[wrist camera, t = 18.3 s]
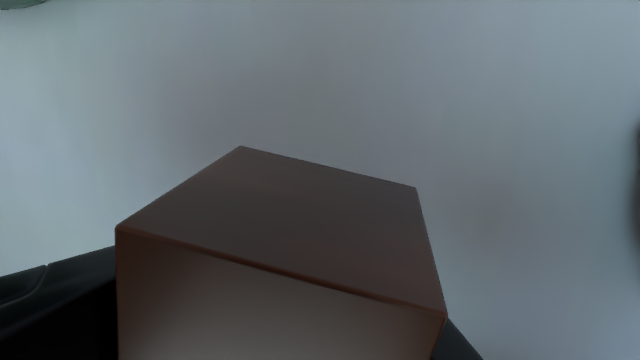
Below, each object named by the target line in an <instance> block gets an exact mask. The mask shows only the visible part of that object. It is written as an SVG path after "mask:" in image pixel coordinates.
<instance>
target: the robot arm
mask: <svg viewBox="0 0 640 360" xmlns="http://www.w3.org/2000/svg"><path fill="white" fill-rule="evenodd" d="M0 360H118V349H117V308H116V267H115V245H114V246H111V247H107V248H103V249H100V250H96V251H93V252H89V253H85V254H82V255H78V256H75V257H71V258H67V259H64V260H60V261H57V262H53V263H50V264H48V265H47V266H46V265H42V266H38V267H35V268H31V269H28V270H24V271H20V272H17V273H13V274H9V275H5V276H1V277H0ZM430 360H483V359H482V357H481V356H480V355H479V354H478V353H477V351H476V350H475V349H474V348H473V347H472V345H471V344H470V343H469V342H468V341H467V339H466V338H465V337H464V336H463V335H462V333H461V332H460V331H459V330H458V329H457V328H456V326H455V325H454V324H453V323H452V322H451V320H450V319H449V318H447V321H446V323H445V326H444V328H443V331H442V333H441V335H440V338H439V340H438V343H437V345H436V347H435V350H434V352H433V355H432V357H431V359H430Z"/></svg>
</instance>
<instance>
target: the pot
mask: <svg viewBox="0 0 640 360" xmlns="http://www.w3.org/2000/svg"><path fill="white" fill-rule="evenodd" d="M45 1H47V0H0V10H9V9H16V8H25V7H29V6H33V5H36V4H39V3H43V2H45Z"/></svg>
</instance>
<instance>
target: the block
mask: <svg viewBox="0 0 640 360" xmlns="http://www.w3.org/2000/svg"><path fill="white" fill-rule="evenodd" d="M115 267H116V308H117V349H118V360H430V359H431V357H432V355H433V352H434V350H435V347H436V345H437V343H438V340H439V338H440V335H441V333H442V331H443V328H444V326H445V323H446V321H447V318H448V312H447V308H446V304H445V300H444V297H443V293H442V289H441V285H440V281H439V277H438V273H437V269H436V265H435V261H434V257H433V253H432V249H431V245H430V241H429V237H428V233H427V229H426V225H425V221H424V218H423V214H422V210H421V206H420V202H419V198H418V194H417V190H416V188H415V187H412V186H407V185H403V184H399V183H395V182H391V181H387V180H382V179H378V178H374V177H370V176H366V175H362V174H357V173H353V172H349V171H345V170H341V169H336V168H332V167H328V166H324V165H320V164H316V163H311V162H307V161H303V160H299V159H295V158H290V157H286V156H282V155H278V154H274V153H270V152H265V151H261V150H257V149H253V148H249V147H244V146H239V147H237V148H235V149H234V150H232V151H231V152H229V153H228V154H226V155H225V156H223V157H221V158H220V159H218V160H217V161H215V162H214V163H212V164H211V165H209V166H207V167H206V168H204V169H203V170H201V171H200V172H198V173H197V174H195V175H193V176H192V177H190V178H189V179H187V180H186V181H184V182H183V183H181V184H179V185H178V186H176V187H175V188H173V189H172V190H170V191H169V192H167V193H165V194H164V195H162V196H161V197H159V198H158V199H156V200H155V201H153V202H151V203H150V204H148V205H147V206H145V207H144V208H142V209H141V210H139V211H137V212H136V213H134V214H133V215H131V216H130V217H128V218H127V219H125V220H123V221H122V222H120V223H119V224H117V226H116V227H115Z"/></svg>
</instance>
